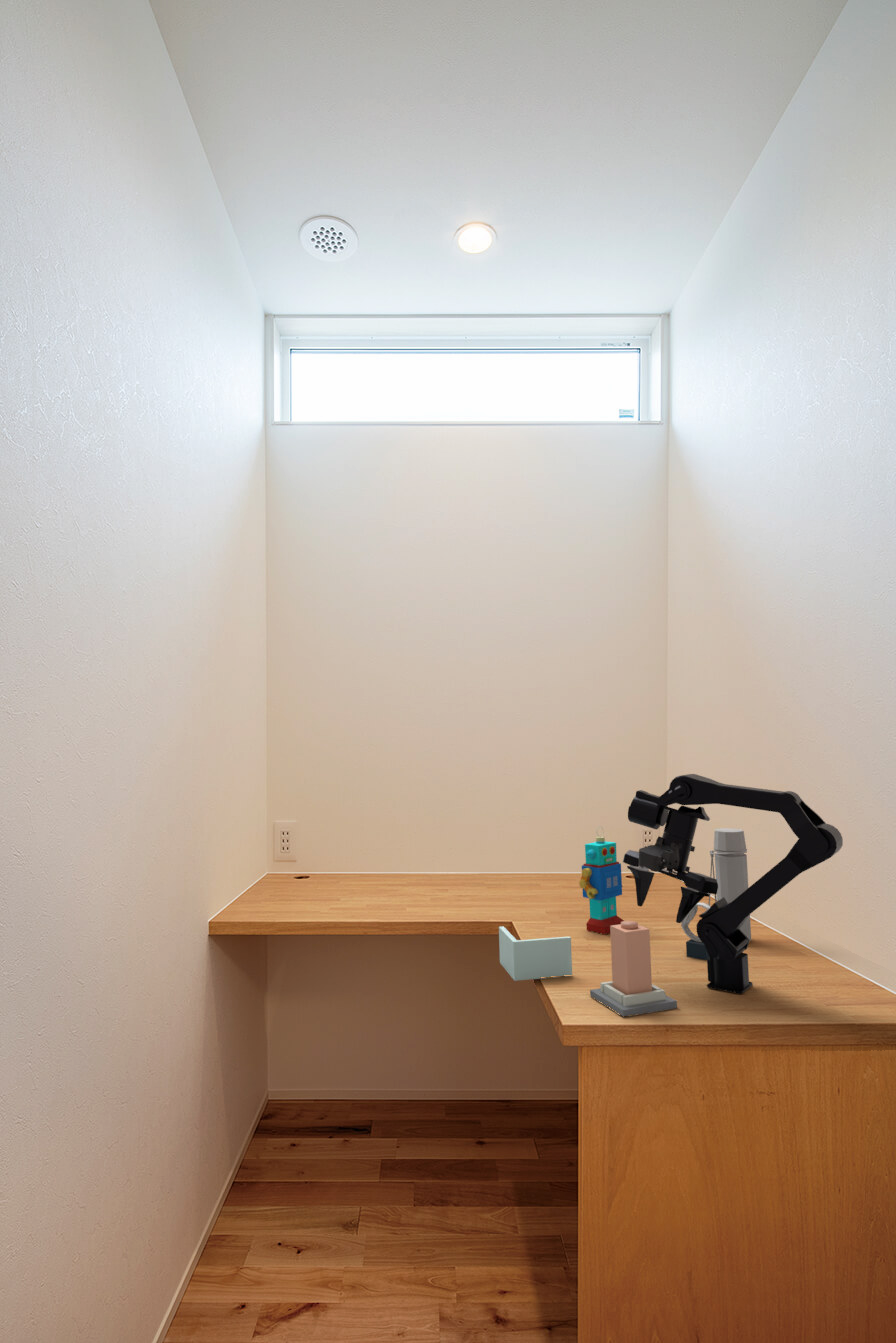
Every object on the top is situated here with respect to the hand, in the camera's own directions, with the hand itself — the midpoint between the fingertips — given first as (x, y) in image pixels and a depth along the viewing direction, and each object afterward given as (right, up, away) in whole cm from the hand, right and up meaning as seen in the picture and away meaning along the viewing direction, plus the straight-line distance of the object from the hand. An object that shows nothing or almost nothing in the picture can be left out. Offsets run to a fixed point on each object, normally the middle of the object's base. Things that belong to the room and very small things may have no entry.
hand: (658, 914), depth 147 cm
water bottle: (+24, -14, +25) cm, 37 cm away
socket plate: (-8, -12, -12) cm, 19 cm away
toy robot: (-3, -16, +37) cm, 41 cm away
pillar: (-8, -11, -12) cm, 18 cm away
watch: (+13, -14, +14) cm, 24 cm away
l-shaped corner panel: (-23, -14, +8) cm, 29 cm away
